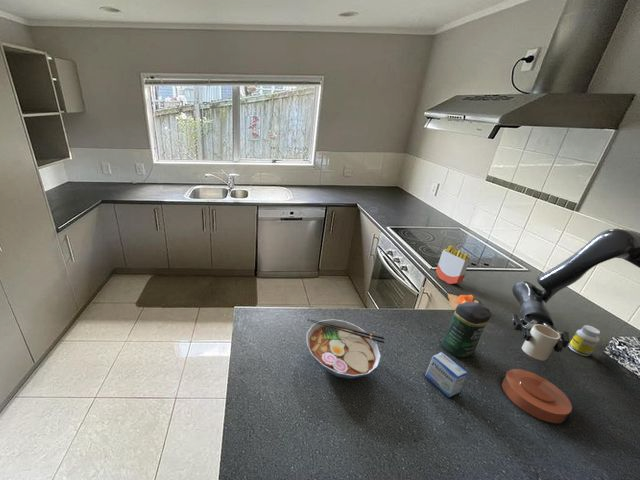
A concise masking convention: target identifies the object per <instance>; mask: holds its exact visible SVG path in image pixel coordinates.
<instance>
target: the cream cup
mask: <svg viewBox="0 0 640 480" xmlns="http://www.w3.org/2000/svg"><path fill="white" fill-rule="evenodd" d="M530 334H531V338H530V340H529V341H526V340H525V339H524V341H523V343H522V345H521V350H522V351H523V352H524V353H525V354H526V355H527V356H529V357H531V358H533V359H535V360H538V361H543V362H544V361H547V360H548V358H549V357H550V356H551V354H552V352H553V351H554V347H555V346H556V344H557V342H558V341H559V339H560V335H559V334H558V333H557V332H556V331H555V330H553V329H551V328H549V327H547V326H544V325H540V324H535V325H533V327H532V329H531V330H530Z"/></svg>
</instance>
